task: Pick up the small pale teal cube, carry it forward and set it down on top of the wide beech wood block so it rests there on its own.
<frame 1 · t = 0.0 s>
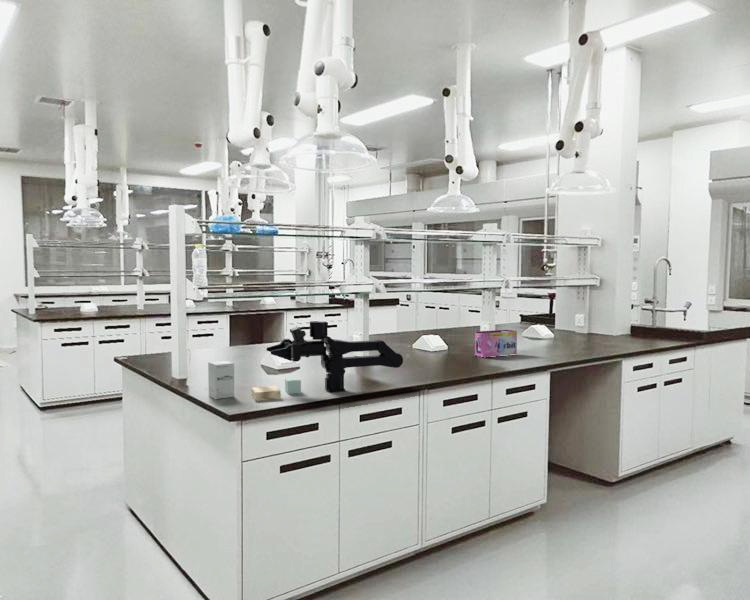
hand: (268, 350, 204), 17 cm above the countertop, tool horizontal, fingers open, 9 cm apart
supplement box: (221, 397, 203), on the countertop
teal cube: (293, 392, 210), on the countertop
beech block: (265, 398, 201), on the countertop
gum box: (495, 356, 298), on the countertop
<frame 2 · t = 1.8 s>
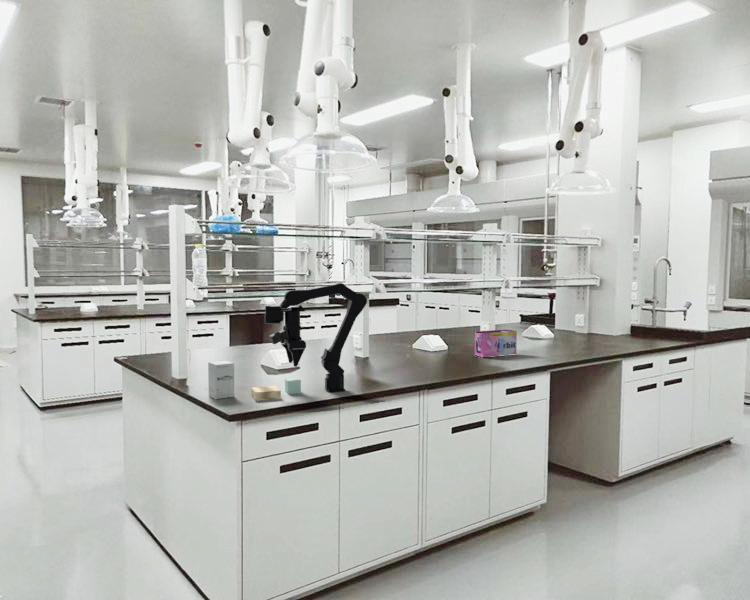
hand: (293, 364, 209), 11 cm above the countertop, tool pointing down, fingers open, 9 cm apart
nothing on the countertop moved.
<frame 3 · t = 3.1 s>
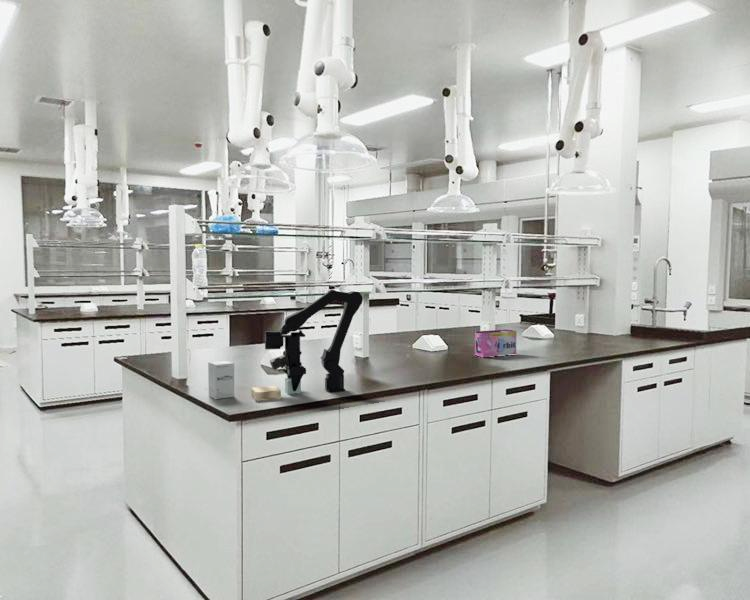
hand: (292, 389, 210), 1 cm above the countertop, tool pointing down, fingers closed on teal cube, 5 cm apart
teal cube: (292, 392, 210), on the countertop, touching gripper
everything else where it was.
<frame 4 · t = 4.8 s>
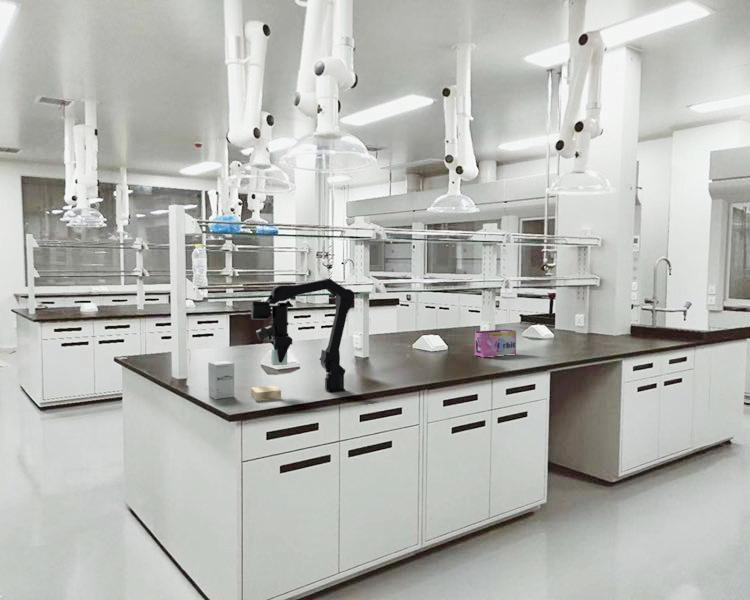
hand: (279, 361, 205), 12 cm above the countertop, tool pointing down, fingers closed on teal cube, 5 cm apart
teal cube: (279, 364, 205), point 11 cm above the countertop, touching gripper
everything else where it was.
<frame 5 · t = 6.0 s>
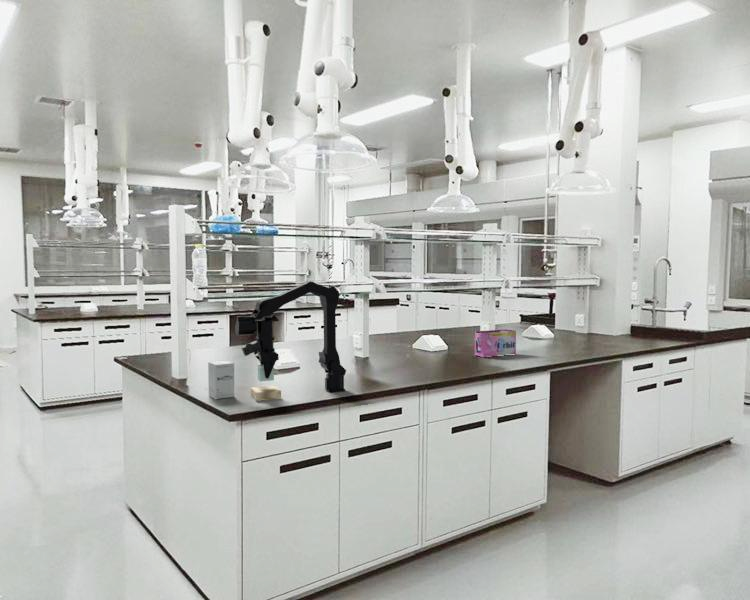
hand: (265, 376, 201), 8 cm above the countertop, tool pointing down, fingers closed on teal cube, 5 cm apart
teal cube: (265, 379, 201), point 7 cm above the countertop, touching gripper
when the fingers open (6 cm above the countertop, at t = 6.7 s): teal cube drops 2 cm, resting on beech block.
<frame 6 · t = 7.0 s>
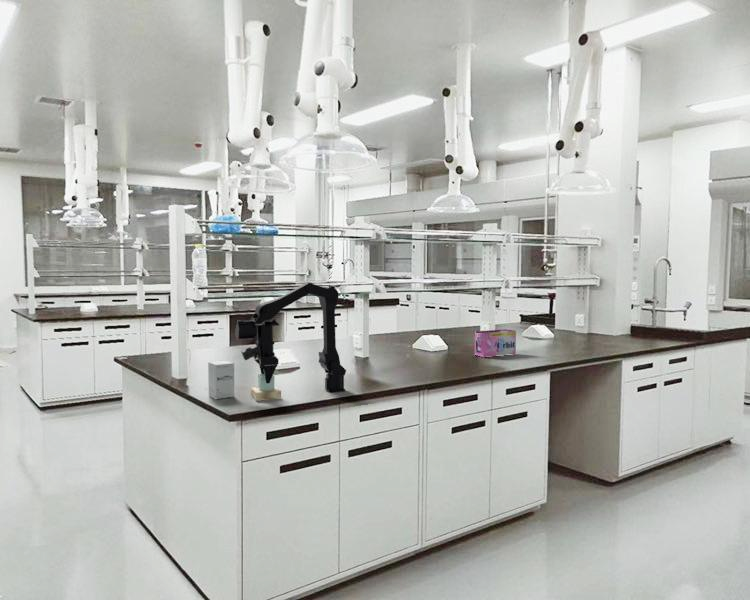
hand: (265, 381, 201), 6 cm above the countertop, tool pointing down, fingers open, 8 cm apart
teal cube: (266, 388, 201), point 3 cm above the countertop, touching beech block
beech block: (265, 398, 201), on the countertop, touching teal cube
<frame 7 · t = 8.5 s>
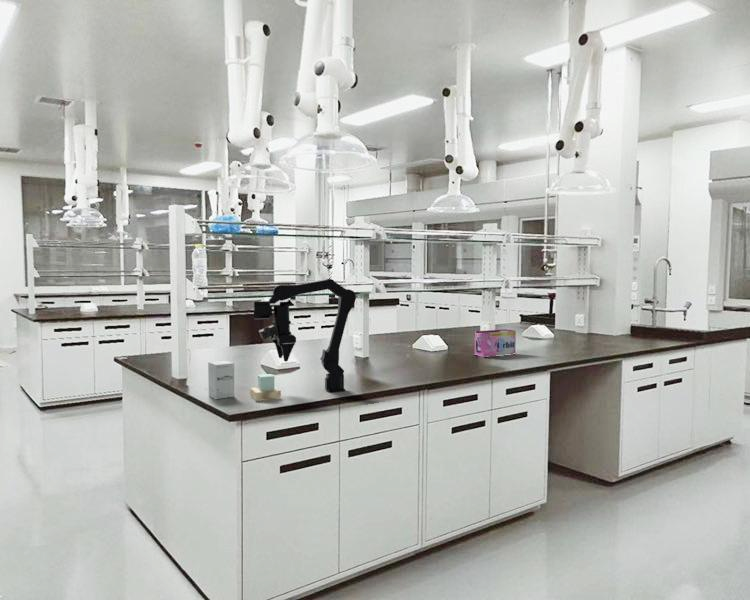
hand: (283, 359, 208), 13 cm above the countertop, tool pointing down, fingers open, 9 cm apart
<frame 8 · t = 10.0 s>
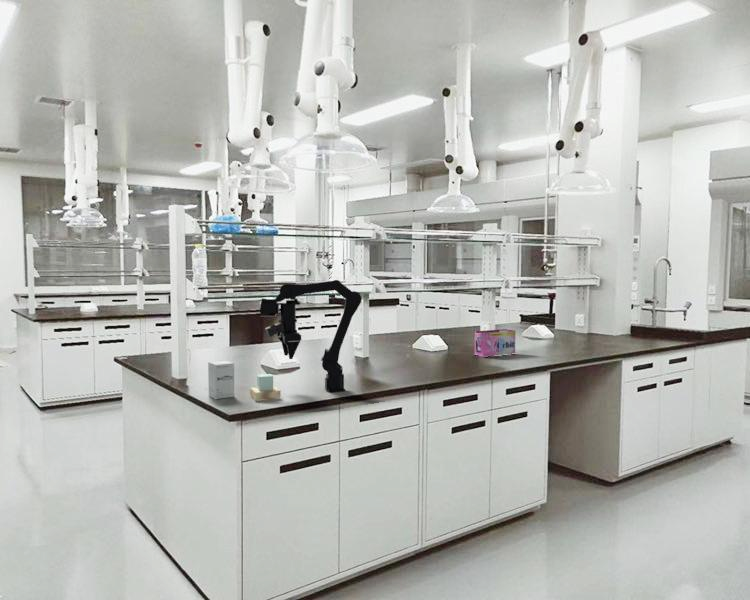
hand: (288, 357, 211), 13 cm above the countertop, tool pointing down, fingers open, 9 cm apart
at the end: teal cube inside the target area on the beech block (0.1 cm from its centre), point 3.5 cm above the beech block's base; teal cube tilted 1°; teal cube touching beech block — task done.
